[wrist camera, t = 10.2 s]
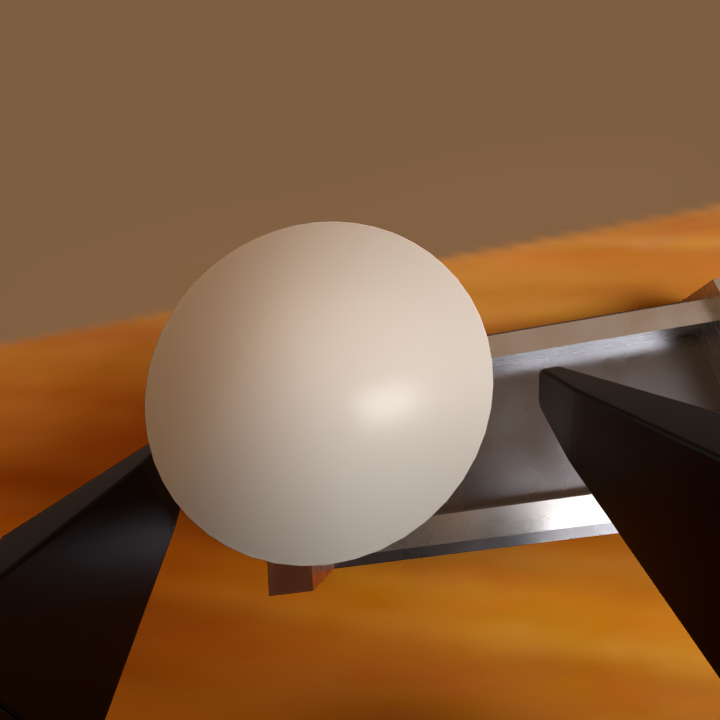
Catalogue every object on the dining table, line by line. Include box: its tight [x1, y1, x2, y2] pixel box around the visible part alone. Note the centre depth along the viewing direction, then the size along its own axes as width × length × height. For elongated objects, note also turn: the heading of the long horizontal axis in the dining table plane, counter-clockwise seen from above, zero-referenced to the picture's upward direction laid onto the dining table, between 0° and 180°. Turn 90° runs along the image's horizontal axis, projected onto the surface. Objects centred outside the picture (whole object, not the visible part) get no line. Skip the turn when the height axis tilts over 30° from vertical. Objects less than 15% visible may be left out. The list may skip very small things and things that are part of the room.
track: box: [267, 278, 720, 596], centre depth 15 cm, size 21×9×4 cm, turn 98°
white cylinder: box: [145, 222, 493, 566], centre depth 11 cm, size 5×5×12 cm
